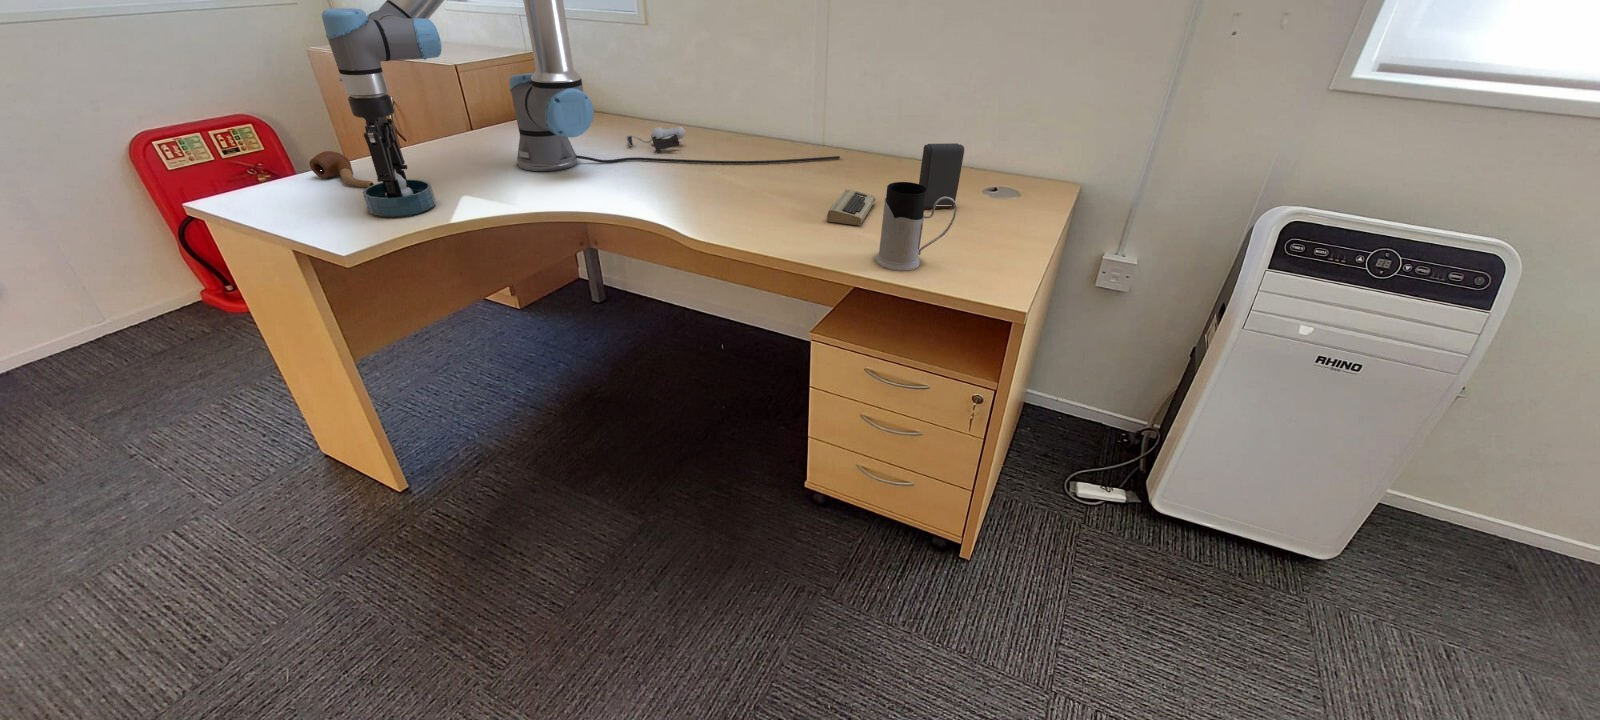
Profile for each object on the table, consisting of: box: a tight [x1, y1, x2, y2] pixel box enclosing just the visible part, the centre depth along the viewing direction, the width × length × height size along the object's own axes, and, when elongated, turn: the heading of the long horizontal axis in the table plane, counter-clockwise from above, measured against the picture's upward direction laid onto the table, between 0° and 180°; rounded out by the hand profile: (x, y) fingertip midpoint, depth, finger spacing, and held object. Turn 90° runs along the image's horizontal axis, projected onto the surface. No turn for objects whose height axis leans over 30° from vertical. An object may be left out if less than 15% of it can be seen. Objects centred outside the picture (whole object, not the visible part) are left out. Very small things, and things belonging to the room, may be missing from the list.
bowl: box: [362, 178, 437, 218], centre depth 143 cm, size 13×13×4 cm
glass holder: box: [875, 181, 958, 272], centre depth 125 cm, size 9×14×15 cm, turn 85°
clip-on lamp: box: [626, 126, 686, 154], centre depth 192 cm, size 12×6×18 cm
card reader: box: [918, 142, 965, 210], centre depth 153 cm, size 9×4×15 cm, turn 100°
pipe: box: [308, 150, 375, 188], centre depth 157 cm, size 7×19×6 cm, turn 65°
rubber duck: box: [385, 170, 413, 198], centre depth 141 cm, size 5×7×8 cm
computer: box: [826, 189, 876, 227], centre depth 150 cm, size 16×8×3 cm, turn 163°
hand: (402, 204), depth 144 cm, fingers closed on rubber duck, 6 cm apart
